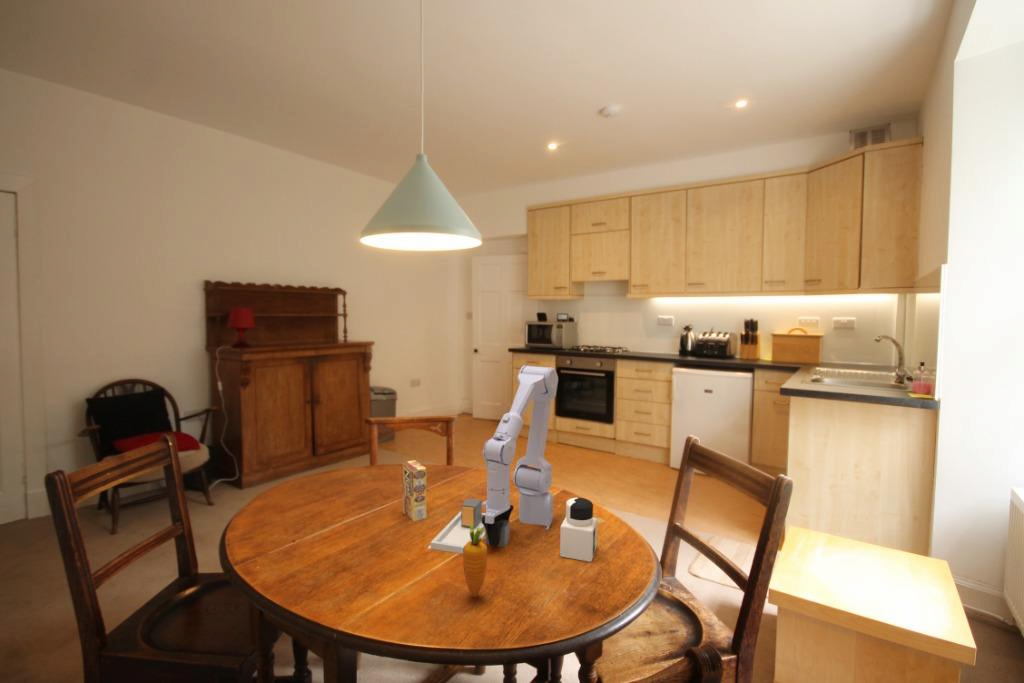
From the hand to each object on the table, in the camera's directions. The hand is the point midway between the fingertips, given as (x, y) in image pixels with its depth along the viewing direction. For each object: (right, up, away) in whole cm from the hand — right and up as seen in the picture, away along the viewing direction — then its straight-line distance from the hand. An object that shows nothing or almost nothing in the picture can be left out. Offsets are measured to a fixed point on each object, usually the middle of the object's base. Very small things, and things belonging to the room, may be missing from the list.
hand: (497, 539), depth 117 cm
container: (+20, -2, -2) cm, 20 cm away
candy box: (-24, -1, +16) cm, 29 cm away
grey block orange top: (0, -2, 0) cm, 2 cm away
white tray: (-9, -1, +5) cm, 10 cm away
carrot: (-4, -3, -22) cm, 22 cm away
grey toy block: (-7, 0, +10) cm, 13 cm away
